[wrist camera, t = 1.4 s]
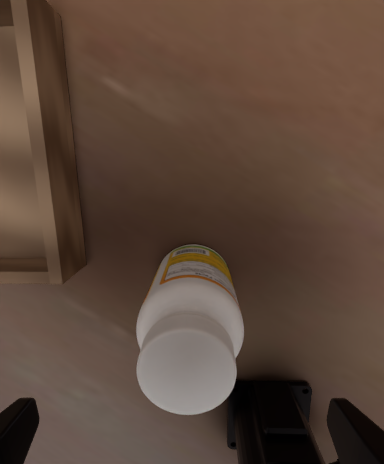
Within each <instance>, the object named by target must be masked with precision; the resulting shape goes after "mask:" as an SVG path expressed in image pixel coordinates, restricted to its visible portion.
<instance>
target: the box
mask: <svg viewBox="0 0 384 464" xmlns="http://www.w3.org/2000/svg"><path fill="white" fill-rule="evenodd" d="M85 265H87V264H86V255H85V245H84V236H83V226H82V216H81V207H80V197H79V188H78V178H77V168H76V159H75V149H74V140H73V130H72V121H71V111H70V101H69V92H68V82H67V73H66V63H65V54H64V44H63V34H62V25H61V17H60V15H59V14H58V13H57V12H56V11H55V10H54V9H53V8H52V7H51V6H50V5H49V4H48V2H47V1H46V0H0V284H63V283H65V282H66V281H67V280H68V279H70V278H71V277H72V276H73V275H74V274H76V273H77V272H78V271H79V270H81V269H82V268H83V267H84V266H85Z"/></svg>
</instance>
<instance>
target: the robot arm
mask: <svg viewBox="0 0 384 464" xmlns="http://www.w3.org/2000/svg"><path fill="white" fill-rule="evenodd" d="M234 387H237V388H233V390H232V391H231V393H230V395H229V396H228V422H227V444H228V447H229V448H231V449H237V455H238V463H239V464H325V462H324V460H323V457H322V455H321V452H320V450H319V448H318V445H317V443H316V440H315V438H314V436H313V433H312V431H311V429H310V426H309V424H308V422H309V413H310V404H311V395H312V389H311V387H310V385H309V384H308V383H307V382H285V381H235V385H234ZM305 388H306V389H305ZM303 389H305V390H303ZM38 424H39V414H38V409H37V405H36V401H35V399H34V398H20V399H18V400H16V401H15V402H14V403H12V404H11V405H10V406H9V407H7V408H6V409H5V410H4V411H2V412H1V413H0V464H24V461H25V458H26V456H27V453H28V451H29V448H30V446H31V443H32V441H33V438H34V435H35V433H36V430H37V428H38ZM327 425H328V428H329V431H330V434H331V437H332V440H333V443H334V446H335V449H336V452H337V455H338V458H339V459H337V461H336V462H333V463H329V464H384V431H383V430H382V429H381V428H380V427H379V426H377V425H376V424H375V423H374V422H373V421H372V420H370V419H369V418H368V417H367V416H366V415H365V414H363V413H362V412H361V411H360V410H359V409H358V408H356V407H355V406H354V405H353V404H352V403H351V402H349V401H348V400H347V399H344V398H332V399H331V400H330V404H329V409H328V414H327Z"/></svg>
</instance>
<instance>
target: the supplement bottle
mask: <svg viewBox="0 0 384 464" xmlns="http://www.w3.org/2000/svg"><path fill="white" fill-rule="evenodd" d="M136 334H137V341H138V344H139V347H140V350H141V351H140V354H139V357H138V361H137V369H136V370H137V379H138V382H139V385H140V387H141V389H142V391H143V393H144V394H145V395H146V397H147V398H148V399H149V400H150V401H151V402H152V403H154V404H155V405H157V406H158V407H160V408H162V409H163V410H166V411H168V412H171V413H176V414H182V415H195V414H200V413H204V412H207V411H210V410H212V409H214V408H215V407H217V406H219V405H220V404H221V403H222V402H224V401H225V400H226V398H227V397H228V396H229V395H230V393H231V391H232V390H233V388H234V385H235V381H236V375H237V368H236V360H235V358H236V357H237V355H238V354H239V351H240V349H241V346H242V343H243V338H244V324H243V319H242V315H241V311H240V307H239V304H238V301H237V297H236V294H235V290H234V286H233V283H232V279H231V275H230V272H229V269H228V267H227V264H226V263H225V261H224V260H223V258H222V257H221V256H220V255H219V254H218V253H217V252H215V251H214V250H212V249H210V248H208V247H206V246H202V245H196V244H191V245H184V246H181V247H178V248H176V249H174V250H172V251H171V252H170V253H169V254H167V255H166V257H165V258H164V259H163V260H162V262H161V264H160V266H159V268H158V270H157V273H156V275H155V277H154V279H153V282H152V284H151V286H150V288H149V291H148V293H147V295H146V297H145V300H144V302H143V304H142V307H141V309H140V312H139V315H138V319H137V325H136Z"/></svg>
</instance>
